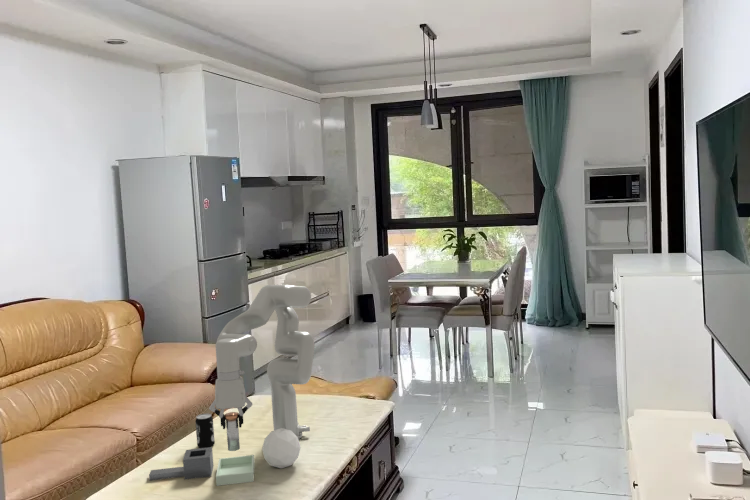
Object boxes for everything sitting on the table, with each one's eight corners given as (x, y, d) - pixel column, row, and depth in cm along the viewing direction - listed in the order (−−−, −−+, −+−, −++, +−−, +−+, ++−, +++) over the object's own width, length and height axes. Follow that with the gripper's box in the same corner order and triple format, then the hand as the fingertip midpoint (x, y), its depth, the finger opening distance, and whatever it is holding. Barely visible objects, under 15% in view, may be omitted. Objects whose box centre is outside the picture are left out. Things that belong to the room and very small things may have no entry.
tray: (219, 467, 235) (219, 458, 235) (254, 463, 237) (254, 454, 237) (216, 485, 220) (215, 476, 220) (253, 481, 222) (252, 472, 222)
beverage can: (210, 449, 253) (207, 419, 251) (194, 449, 254) (192, 418, 253) (217, 442, 259) (215, 413, 258) (202, 442, 260) (199, 412, 259)
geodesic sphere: (267, 439, 244) (261, 418, 235) (304, 438, 244) (299, 417, 235) (263, 475, 234) (256, 455, 224) (301, 474, 233) (296, 453, 224)
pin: (241, 445, 230) (239, 411, 229) (240, 450, 226) (238, 415, 225) (227, 447, 230) (224, 412, 229) (226, 452, 225) (223, 417, 224)
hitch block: (213, 465, 237) (212, 447, 236) (211, 476, 228) (209, 456, 227) (152, 472, 234) (151, 453, 233) (148, 483, 225) (146, 463, 224)
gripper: (254, 370, 231) (257, 421, 232) (204, 374, 228) (208, 425, 230) (253, 375, 223) (257, 428, 225) (202, 380, 221) (206, 433, 222)
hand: (232, 426), depth 227 cm, fingers closed on pin, 4 cm apart
